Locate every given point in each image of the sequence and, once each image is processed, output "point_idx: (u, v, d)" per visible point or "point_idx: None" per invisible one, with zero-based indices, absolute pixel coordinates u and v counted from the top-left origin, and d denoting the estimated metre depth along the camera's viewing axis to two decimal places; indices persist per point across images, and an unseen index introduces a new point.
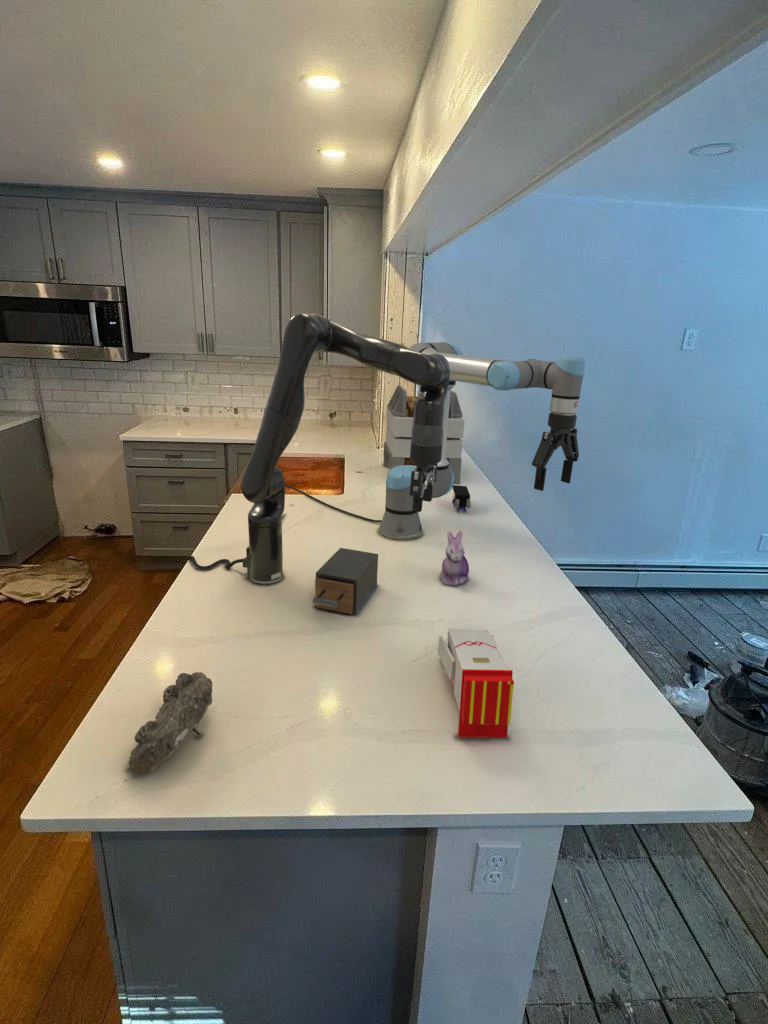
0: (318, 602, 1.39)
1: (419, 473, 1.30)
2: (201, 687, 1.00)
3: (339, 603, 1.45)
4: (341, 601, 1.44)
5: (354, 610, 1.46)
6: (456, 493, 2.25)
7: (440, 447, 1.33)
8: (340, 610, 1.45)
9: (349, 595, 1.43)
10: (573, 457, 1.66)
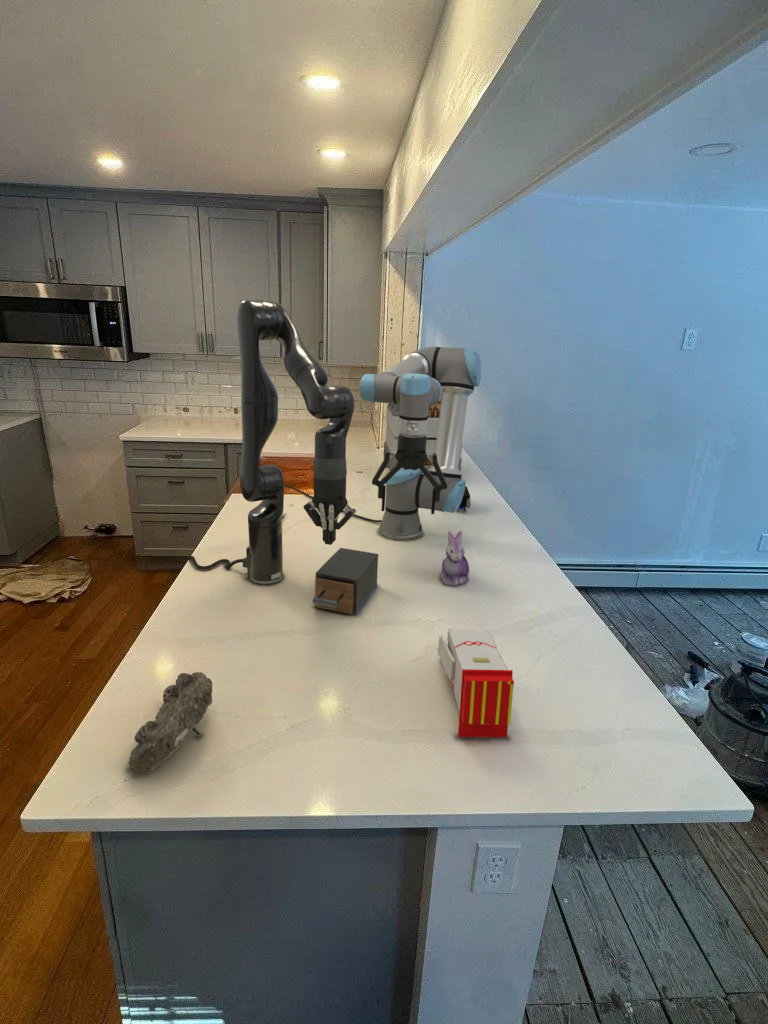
0: (318, 602, 1.39)
1: None
2: (201, 687, 1.00)
3: (339, 603, 1.45)
4: (341, 601, 1.44)
5: (354, 610, 1.46)
6: None
7: None
8: (340, 610, 1.45)
9: (349, 595, 1.43)
10: (436, 486, 1.51)
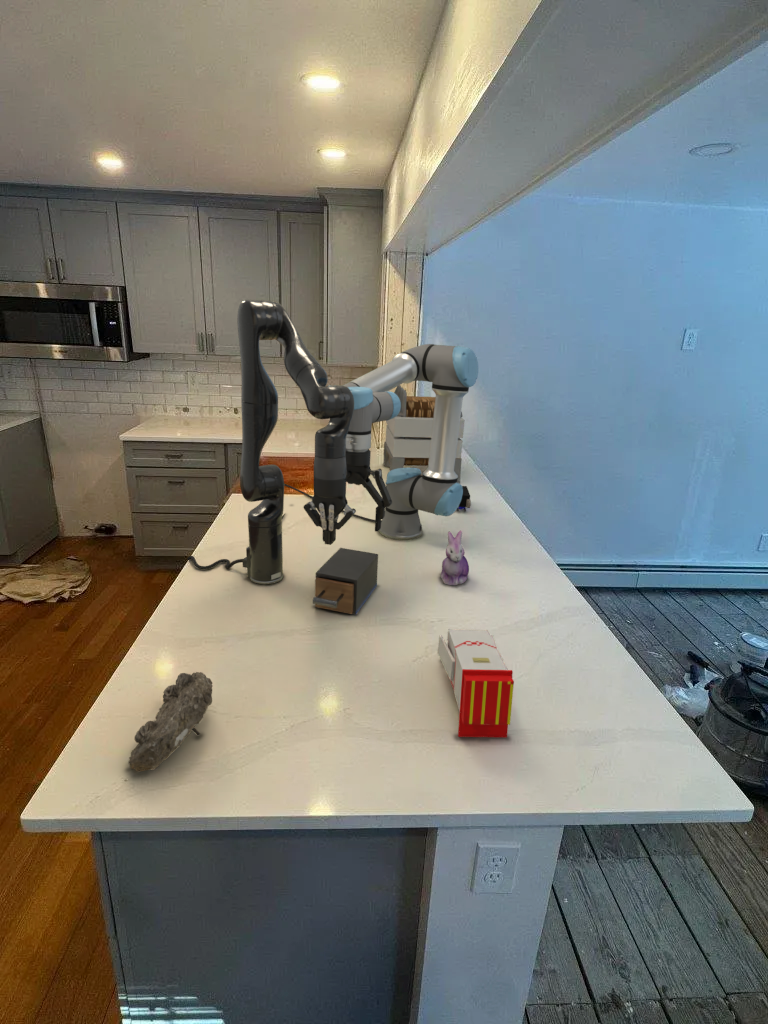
0: (318, 602, 1.39)
1: None
2: (201, 687, 1.00)
3: (339, 603, 1.45)
4: (341, 601, 1.44)
5: (354, 610, 1.46)
6: None
7: None
8: (340, 610, 1.45)
9: (349, 595, 1.43)
10: (378, 503, 1.47)
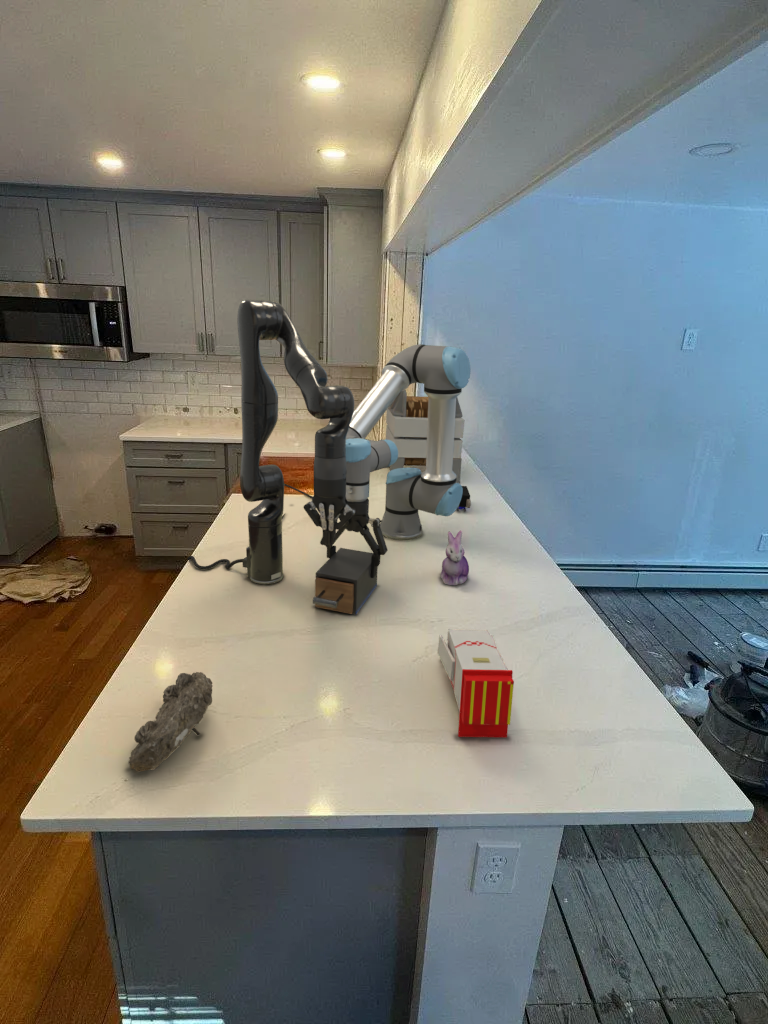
0: (318, 602, 1.39)
1: None
2: (201, 687, 1.00)
3: (339, 603, 1.45)
4: (341, 601, 1.44)
5: (354, 610, 1.46)
6: None
7: None
8: (340, 610, 1.45)
9: (349, 595, 1.43)
10: (374, 551, 1.52)
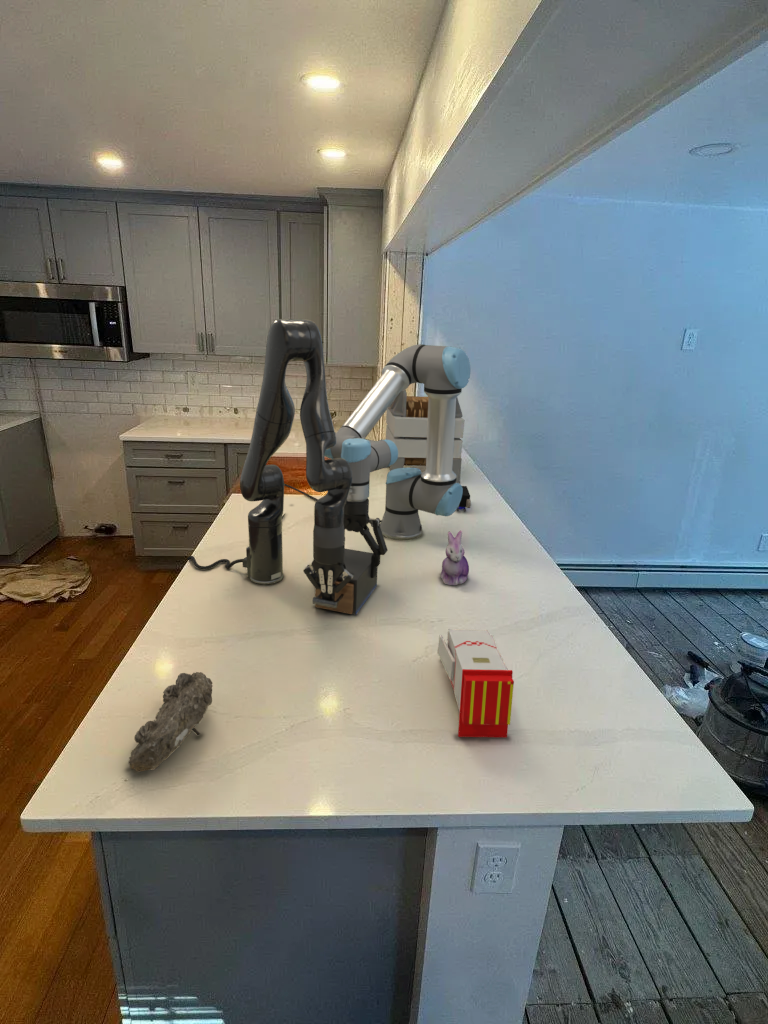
0: (318, 602, 1.39)
1: None
2: (201, 687, 1.00)
3: (339, 603, 1.45)
4: (341, 601, 1.44)
5: (354, 610, 1.46)
6: None
7: None
8: (340, 610, 1.45)
9: (349, 595, 1.43)
10: (374, 551, 1.52)
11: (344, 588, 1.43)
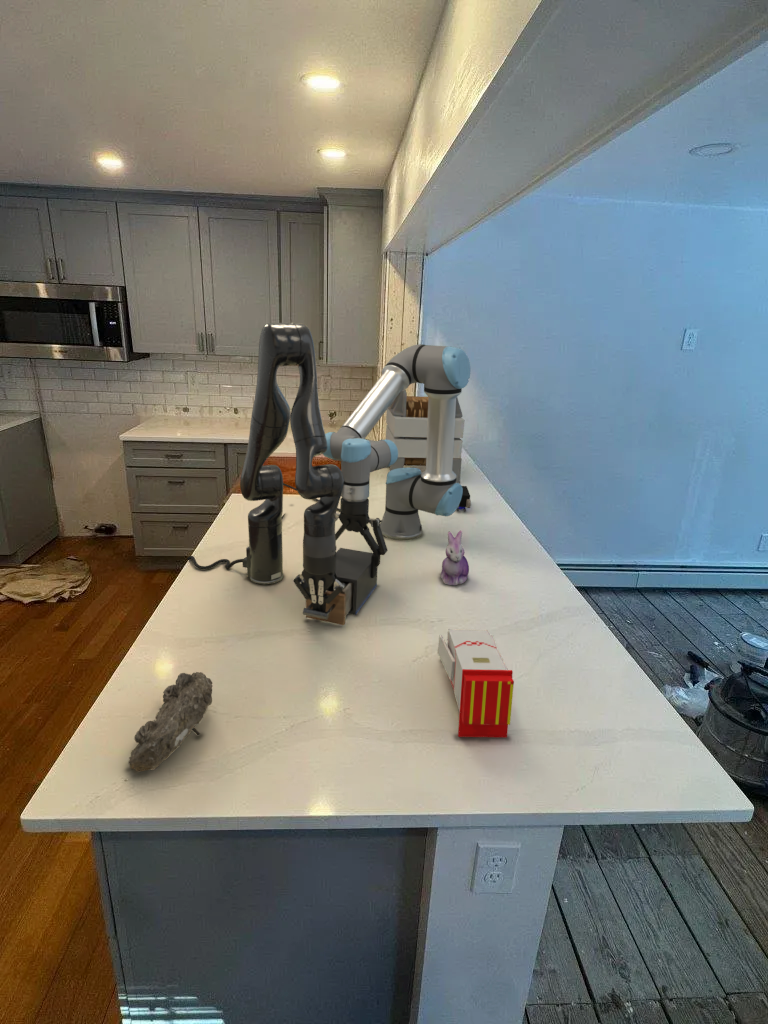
0: (308, 613, 1.34)
1: (344, 586, 1.32)
2: (201, 687, 1.00)
3: (330, 614, 1.39)
4: (333, 612, 1.39)
5: (354, 610, 1.46)
6: None
7: None
8: (332, 621, 1.40)
9: (341, 606, 1.38)
10: (374, 551, 1.52)
11: (336, 598, 1.38)
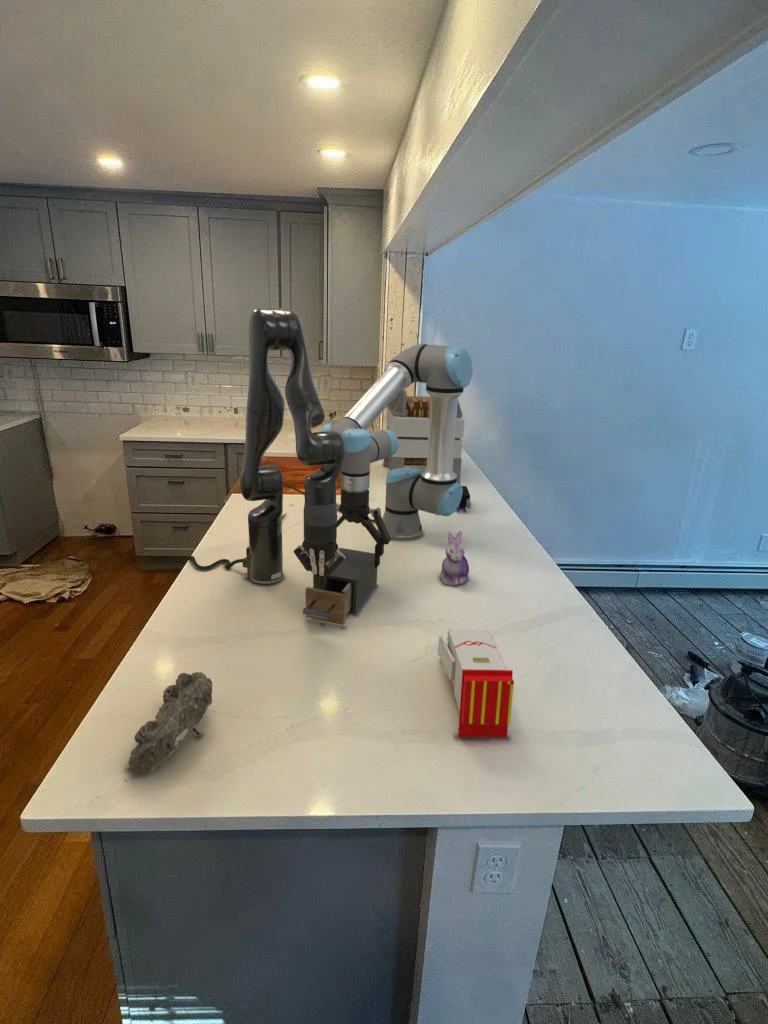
0: (308, 613, 1.34)
1: (345, 557, 1.30)
2: (201, 687, 1.00)
3: (330, 614, 1.39)
4: (332, 612, 1.39)
5: (354, 610, 1.46)
6: None
7: None
8: (331, 621, 1.40)
9: (341, 606, 1.38)
10: (377, 541, 1.51)
11: (335, 598, 1.38)
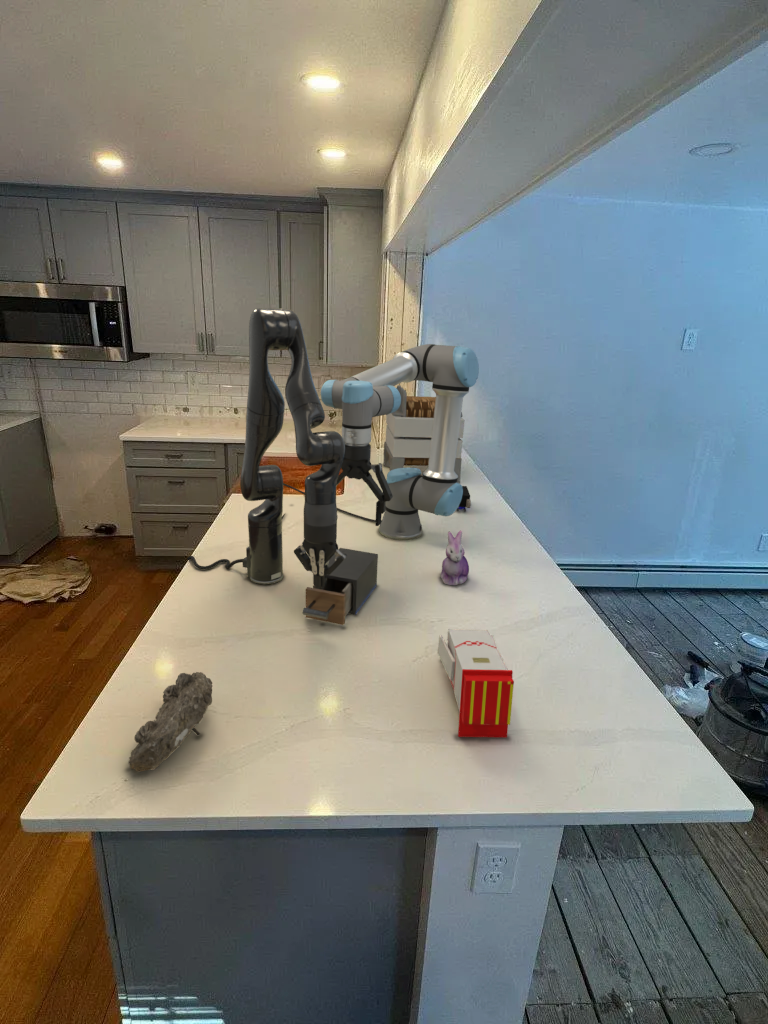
0: (308, 613, 1.34)
1: (345, 557, 1.30)
2: (201, 687, 1.00)
3: (330, 614, 1.39)
4: (332, 612, 1.39)
5: (354, 610, 1.46)
6: None
7: None
8: (331, 621, 1.40)
9: (341, 606, 1.38)
10: (379, 497, 1.46)
11: (335, 598, 1.38)
